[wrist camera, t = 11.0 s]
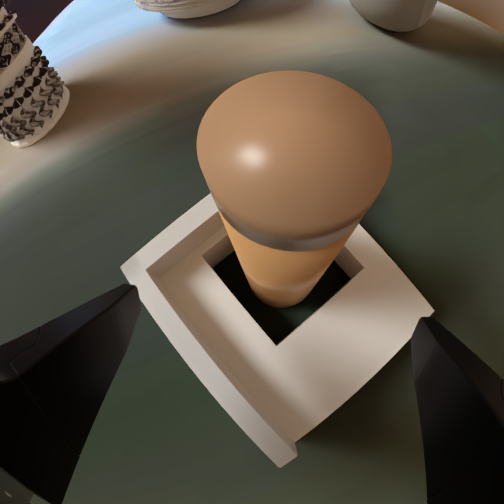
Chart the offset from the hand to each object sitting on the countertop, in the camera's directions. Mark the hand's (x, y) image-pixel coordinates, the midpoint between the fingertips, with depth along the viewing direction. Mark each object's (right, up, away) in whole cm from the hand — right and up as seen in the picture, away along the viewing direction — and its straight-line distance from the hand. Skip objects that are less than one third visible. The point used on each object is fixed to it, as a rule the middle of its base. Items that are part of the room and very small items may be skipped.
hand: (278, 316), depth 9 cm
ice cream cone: (+1, +1, +10) cm, 10 cm away
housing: (+1, -1, +9) cm, 9 cm away
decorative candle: (-23, +16, +16) cm, 33 cm away
